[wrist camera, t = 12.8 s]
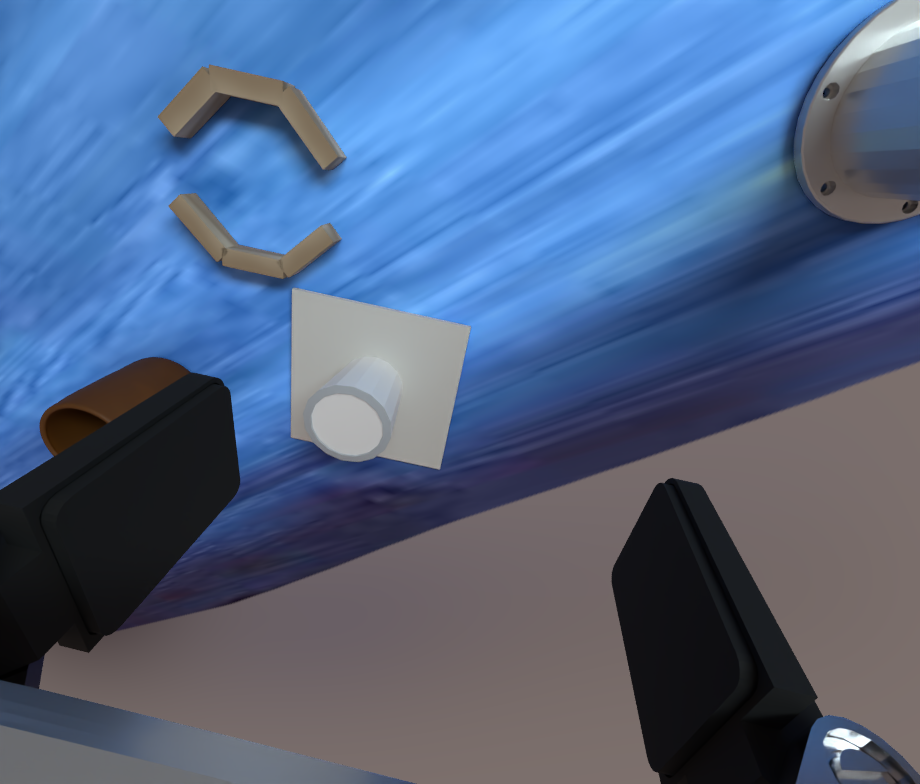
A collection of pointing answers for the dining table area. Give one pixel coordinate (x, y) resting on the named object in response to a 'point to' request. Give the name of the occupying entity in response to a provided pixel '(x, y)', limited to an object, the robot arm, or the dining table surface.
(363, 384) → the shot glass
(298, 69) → the dining table surface
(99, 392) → the mug
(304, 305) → the rubber mat
